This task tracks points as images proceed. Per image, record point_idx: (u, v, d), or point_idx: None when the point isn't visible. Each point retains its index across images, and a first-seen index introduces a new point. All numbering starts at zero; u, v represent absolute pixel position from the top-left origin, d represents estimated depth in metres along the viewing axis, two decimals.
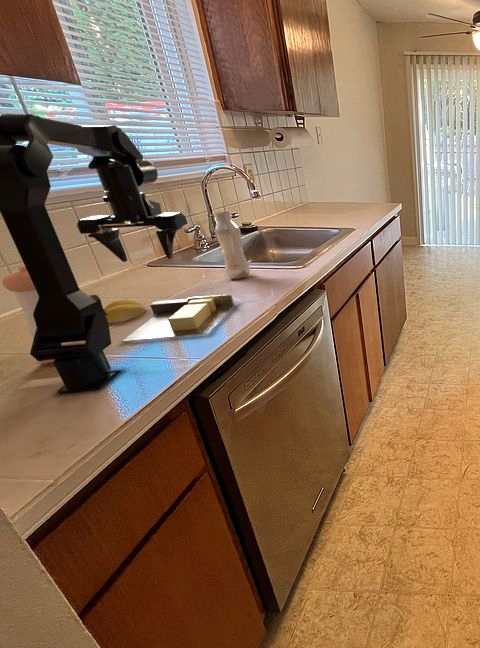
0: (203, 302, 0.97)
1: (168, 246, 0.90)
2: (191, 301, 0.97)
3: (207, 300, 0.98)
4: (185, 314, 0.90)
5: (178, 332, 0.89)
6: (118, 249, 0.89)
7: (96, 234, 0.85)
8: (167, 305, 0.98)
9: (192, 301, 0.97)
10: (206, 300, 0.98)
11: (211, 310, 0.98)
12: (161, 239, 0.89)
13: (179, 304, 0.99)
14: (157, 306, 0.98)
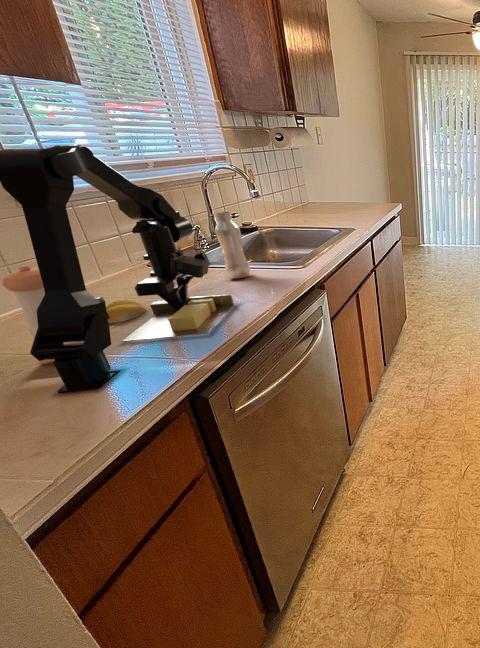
0: (203, 302, 0.97)
1: (168, 301, 0.97)
2: (191, 301, 0.97)
3: (207, 300, 0.98)
4: (185, 314, 0.90)
5: (178, 332, 0.89)
6: None
7: None
8: (167, 305, 0.98)
9: (192, 301, 0.97)
10: (206, 300, 0.98)
11: (211, 310, 0.98)
12: None
13: None
14: (157, 306, 0.98)
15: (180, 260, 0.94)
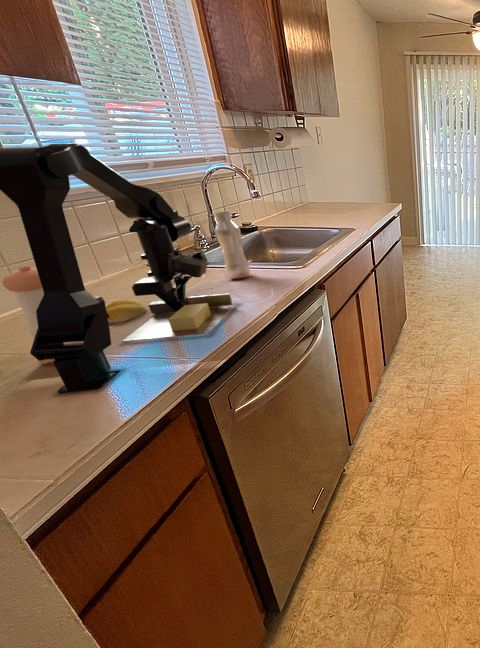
0: None
1: (165, 301, 0.96)
2: None
3: None
4: (185, 314, 0.90)
5: (178, 332, 0.89)
6: None
7: None
8: (166, 305, 0.97)
9: None
10: None
11: None
12: None
13: None
14: (155, 306, 0.97)
15: (178, 260, 0.93)
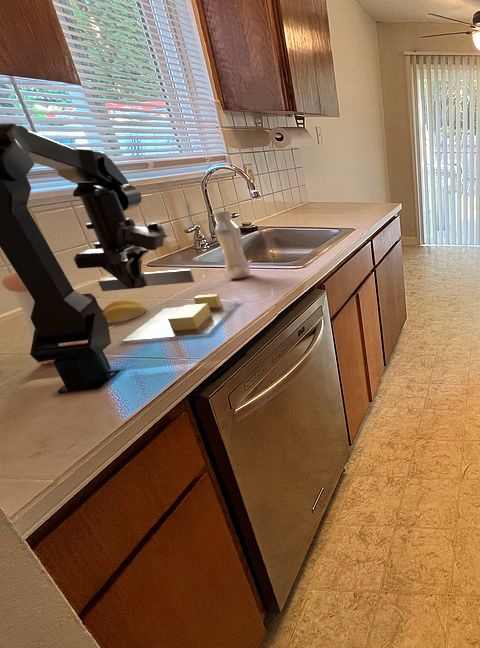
0: (209, 297, 1.00)
1: (117, 276, 0.86)
2: (197, 296, 1.00)
3: (213, 295, 1.00)
4: (185, 314, 0.90)
5: (178, 332, 0.89)
6: None
7: None
8: (118, 282, 0.87)
9: (198, 296, 1.00)
10: (212, 295, 1.00)
11: (216, 305, 1.01)
12: None
13: None
14: (105, 282, 0.87)
15: (129, 230, 0.83)
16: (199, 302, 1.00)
